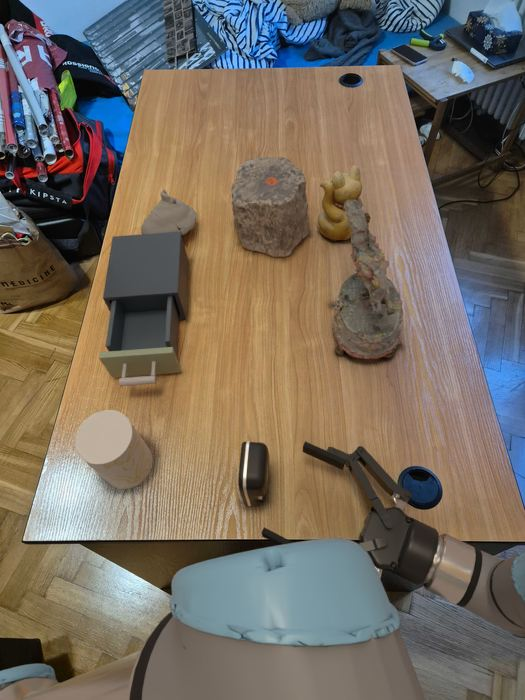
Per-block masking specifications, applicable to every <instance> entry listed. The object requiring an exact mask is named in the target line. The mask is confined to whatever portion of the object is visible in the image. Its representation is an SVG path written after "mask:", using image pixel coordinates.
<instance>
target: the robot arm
mask: <svg viewBox="0 0 525 700" xmlns="http://www.w3.org/2000/svg"><path fill="white" fill-rule="evenodd" d="M302 453H304V454H306V455H308V456H310V457H312V458H315V459H317V460H319V461H322V462H324V463H326V464H327V465H330V466H332V467H334V468H336V469H339V470H341V471H343V470H344V468H347V470H348V472H349V473H350V475H351V477H352V478H353V480H354V482H355V484H356V486H357V488H358V489H359V492H360V494H361V495H362V498H363V500H364V501H365V503H366V505H367V509H368V510H369V512H368V513H367V515H366V517H365V519H364V521H363V528H362V530H361V531H360V533H359V535H358V543H357V542H355V541H354V540H350V539H348V538H341V537H329V538H327V537H326V538H317V539H310V540H303V541H296V542H293V541H291V540H290V539H287V538H285V537H283V536H282V535H280V534H278V533H276V532H275V531H272V530H270V529H268V528H267V527H263V529H262V530H261V536H262V537H263V538H265V539H266V540H268V541H270V542H272V543H274V544H276V545H273V546H267V547H261V548H255V549H252V550H251V549H250V550H247V551H241V552H237V553H231V554H228V555H223V556H219V557H216V558H215V557H214V558H211V559H207V560H203V561H200V562H196V563H193V564H190V565H187V566H185V567H182V568H180V569H179V570H178V571H177V572H176V573H175V574H174V575H173V577H172V578H171V585H170V588H171V596H170V598H169V601H168V603H169V611H170V612H168V613H167V614H166V615H165V616H164V617H163V618H162V619H161V620H159V621H158V622H157V624H156V625H155V626H154V627H153V629H151V631H150V632H149V634H148V636H147V637H146V638H145V640H144V642H143V644H142V646H141V648H140V650H138V651H135V652H133V653H131V654H128V655H126V656H123V657H121V658H118V659H116V660H113V661H111V662H108V663H106V664H104V665H101V666H99V667H96V668H94V669H92V670H89V671H87V672H84V673H82V674H80V675H77V676H73V677H72V678H70V679H67V680H64V681H63V682H59V681H58V680H57V678H56V673H55V669H54V668H53V667H52V666H51V665H49V664H48V665H47V664H46V663H29V664H28V663H27V664H23V665H18V666H13V667H10V668H7V669H2V670H0V700H427V699H426V696H425V694H424V691H423V688H422V686H421V683H420V680H419V678H418V675H417V672H416V669H415V668H414V665H413V661H412V660H411V659H412V658H411V656H410V654H409V651H408V649H407V646H406V643H405V641H404V638H403V635H402V632H401V630H400V626H401V624H402V621H401V617H400V614H399V611H398V609H397V608H396V607H395V605H394V604H393V603H391V602H390V599H389V597H388V595H387V593H386V589H385V587H384V585H383V582H382V580H381V579H382V574H383V571H388V572H389V573H392V574H394V575H396V576H398V577H400V578H402V579H404V580H406V581H408V582H409V583H412V584H414V585H416V586H418V585H422V584H423V587H424V589H425V591H428V592H430V593H431V594H433V595H436V596H438V597H440V598H441V599H443V600H445V601H447V602H449V603H451V604H453V605H456V606H457V607H460V608H462V609H464V610H466V611H468V612H470V613H472V614H474V615H475V616H477V617H480V618H481V619H483V620H486V621H487V622H489V623H491V624H493V625H495V626H497V627H499V628H500V629H503V630H505V631H506V632H508V633H510V634H512V636H513V637H516V638H517V639H520V640H523V641H525V550H523V551H520V552H519V553H517V554H515V555H513V556H511V557H508V558H505V559H501V558H499V557H496V556H494V555H492V554H490V553H487V552H486V551H483V550H481V549H479V548H477V547H474V546H472V545H470V544H469V543H467V542H464V541H462V540H460V539H458V538H456V537H454V536H452V535H449V534H448V533H446V532H443V533H441V534H439V531H438V529H436V528H435V527H433V526H430V525H428V524H426V523H424V522H422V521H420V520H418V519H415V518H414V517H411V516H409V515H408V514H406V513H405V512H404V509H405V507H406V505H407V503H408V502H409V500H410V499H411V498H412V493H411V492H410V491H409V490H408V489H405V488H404V487H403V486H401V485H400V484H398V483H397V482H396V481H395V480H394V479H393V478H392V477H391V476H390V474H388V472H387V471H386V470H385V469H384V468H383V467H382V466H381V464H379V462H377V460H376V459H375V458H374V457H373V456H372V455H371V454H370V453H369V451H368V450H366V448H365V447H364V446H362V445H359V446H357V447H356V449H354V451H352V453H347V452H345V451H342V450H340V449H337V448H335V447H333V446H328V447H327V449H326V450H325V449H323V448H321V447H319V446H317V445H315V444H312V443H310V442H308V441H306V440H305V441H304V443H303V445H302ZM362 467H363V468H364V469H365V470H366V471H367V473H368V474H369V475H370V476H371V477H372V478H373V479H374V481H376V482H377V484H378V485H379V486H380V487H381V488H382V490H384V492H385V493H386V494H387V495H388V496H390V500H391V502H392V503H393V504H394V506H391V507H385V506H384V504H383V501H382V500H381V498H380V497H379V496H378V495H377V493H376V490H375V489H374V488H373V485H372V484H371V482H370V481H369V479H368V477H367V475H366V473H365V472H364V470H363V468H362Z"/></svg>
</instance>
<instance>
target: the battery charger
mask: <svg viewBox="0 0 525 700" xmlns="http://www.w3.org/2000/svg"><path fill="white" fill-rule="evenodd" d="M240 447H241V449H240V458H239V465H238V466H239V467H238V481H237V482H238V483H237V484H238V489H239V493H240V496H241V498H242V501H243V505H244V506H248V507H257V506H261V505H262V504H263V503H265V496H266V493H267V491H268V486H269V472H270V452H269V448H268V446H267V445H266V443H264V442H259V441H250V440H247V441H242V443H241V446H240Z"/></svg>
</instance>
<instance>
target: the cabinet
mask: <svg viewBox="0 0 525 700" xmlns="http://www.w3.org/2000/svg"><path fill="white" fill-rule="evenodd" d="M110 244H111V245H110V252H109V256H108V257H109V258H108V262H107V263H108V264H107V269H106V270H107V271H106V276H105V282H104V290H103V294H102V299H103V301H104V303H105V305H106V307H107V309H108V311H109V313H110V312H111V305H112V300H119V299H133V298H146V297H159V296H173V295H174V296H175V299H176V302H177V305H178V308H179V322H183V321H187V320H188V319H187V317H188V291H189V258H188V253H187V249H186V246H185V241H184V238H183V235H182V234H181V231H180V232H167V233H154V234H142V233H140V234H129V235H116V236H112V238H111V243H110Z"/></svg>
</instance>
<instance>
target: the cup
mask: <svg viewBox="0 0 525 700" xmlns="http://www.w3.org/2000/svg"><path fill="white" fill-rule="evenodd" d="M74 448H75V451H76V454H77V455H78V457H79V458H80V459H82V461H84V462H85V463H86V464H87V465H88V466H89V467H90V468H91V469H93V471H95V472H96V473H97V474H98V475H99V476H100V477H101V478H102V479H104V480H105V481H106V482H107V483H108V484H109V485H110V486H112V487H113V488H115V489H119V490H129V489H132V488H135V487H137V486H138V485H140V484H141V483H144V481H146V479H147V478H148V476H149V475H150V474H151V471H152V469H153V464H154V458H153V453H152V451H151V449H150V447H148V445H147V443H146V442H145V441H144V439H143V437H142V436H141V435H140V433H139V432H138V430H137V429H136V428H135V427H134V425H133V423H132V421H130V419H129V417H127V416H126V415H125V414H124V413H122V412H120V411H118V410H114V409H105V410H99V411H97V412H95V413H93V414H90V415H89V416H88V417H86V419H85V420H83V421H82V423H81V424H80V426H79V427H78V429H77V431H76V433H75V437H74Z"/></svg>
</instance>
